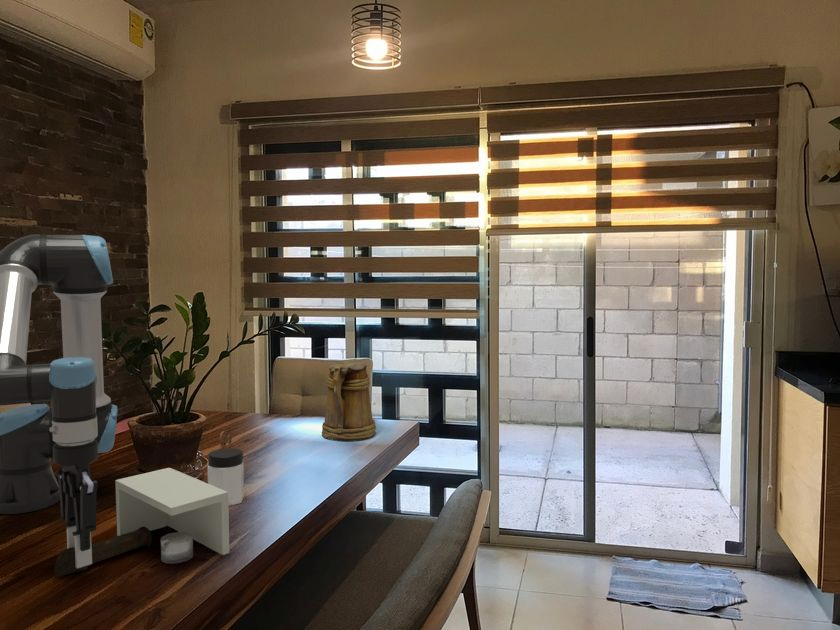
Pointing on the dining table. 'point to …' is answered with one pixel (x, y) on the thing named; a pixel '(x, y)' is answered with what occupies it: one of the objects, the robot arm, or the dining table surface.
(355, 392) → the tankard
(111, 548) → the hand tool
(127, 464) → the dining table surface
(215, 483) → the jar
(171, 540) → the steel puck
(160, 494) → the low shelf
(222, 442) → the gingerbread man figurine
